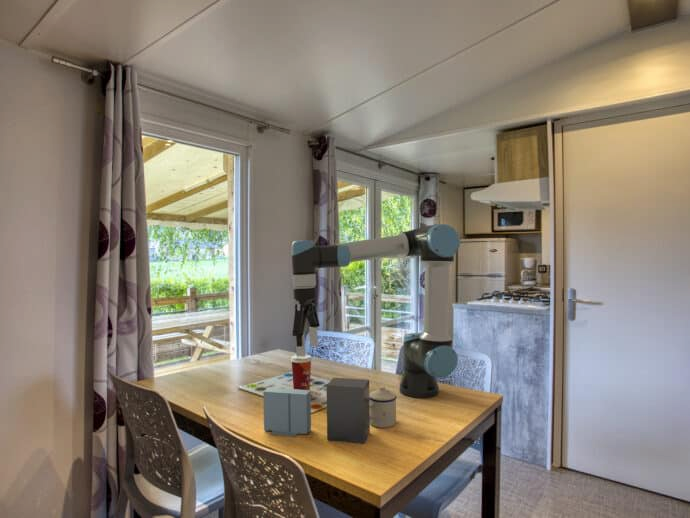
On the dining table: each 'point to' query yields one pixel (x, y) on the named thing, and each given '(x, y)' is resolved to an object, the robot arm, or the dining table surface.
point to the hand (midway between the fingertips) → (307, 350)
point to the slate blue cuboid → (287, 410)
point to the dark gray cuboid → (348, 410)
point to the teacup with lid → (382, 408)
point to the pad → (283, 433)
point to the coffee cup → (301, 372)
